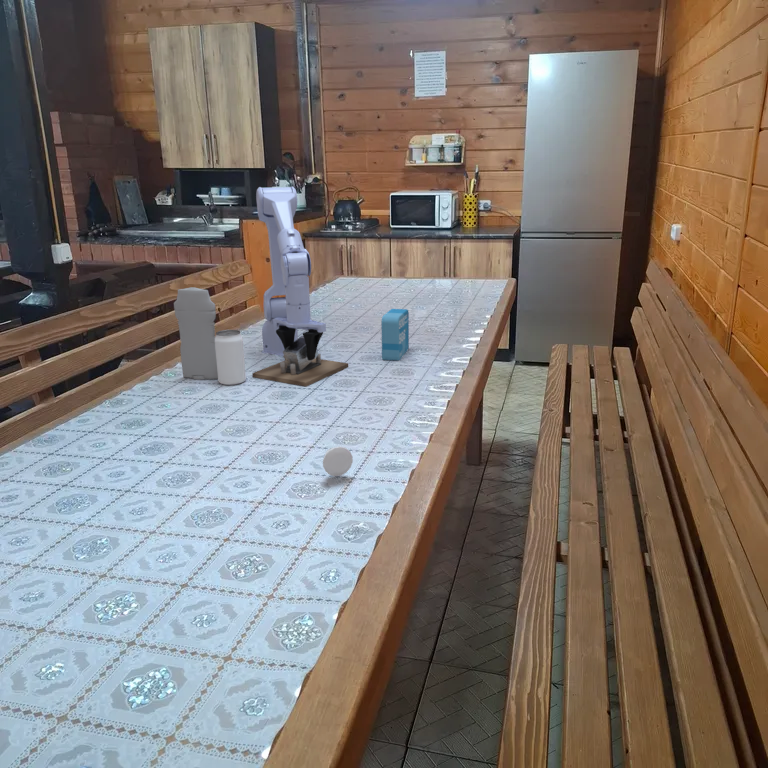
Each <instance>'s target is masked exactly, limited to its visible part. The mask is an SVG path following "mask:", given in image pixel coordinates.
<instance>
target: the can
mask: <svg viewBox="0 0 768 768" xmlns="http://www.w3.org/2000/svg"><path fill="white" fill-rule="evenodd" d="M243 339H244V338H243V336H242V334H241V330H237V329H223V330H219V331H215V351H216V362H217V372H218V379H217V381H218V383H219V384H221V385H224V386H235V385H240V384H243V383H245V381H246V380H247V375H246V373H247V371H246V363H245V362H246V361H245V349H244V340H243Z"/></svg>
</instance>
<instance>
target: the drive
mask: <svg viewBox="0 0 768 768" xmlns="http://www.w3.org/2000/svg"><path fill="white" fill-rule="evenodd" d="M283 354H284V356H283V358H284V361H285V362H286V366H287V369H290V364H295V368H296V371H301V370H302V369H304V368H305V367H306V366H307V365H308V364H309V363H310V362H311V361H312V360H314V359H312V360H308V358H307V349H306V343H305V339H304V337H303V335H300V337H299V336H298V339H297V340H296V341H295V342H293V343H292V344H291V345H290V346H289V347H287V348H286V349H285V350H284V351H283ZM319 354H320V353H319V351H318V349H317V350H316V355H315V358H316V357H317V356H318V355H319ZM290 370H291V369H290Z"/></svg>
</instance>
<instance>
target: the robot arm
mask: <svg viewBox="0 0 768 768" xmlns="http://www.w3.org/2000/svg"><path fill="white" fill-rule="evenodd" d="M255 195H256V196H255V197H256V198H255V199H256V207H257V208H256V210H257V216H258V221H261V222H263V223H265V226H266V229H267V235H268V246H269V257H270V258H269V259H270V268H271V270H270V271H271V279H272V285H271V286H270V287H269V288H268V289H267V290H265V291H264V294H263V313H264V315H263V316H264V318H265V320H266V321H264V323H263V325H262V328H261V335H262V336H261V337H262V351H261V353H262V354H270V355H276V356H281V357H284V354H283V351H284V350H285V349H286V348H287V347H289V346H290V345H291V344H292V343H293V342H295V341H296V340H297V339H298V338H299V336H298V335H299V333H298V332H299V331H298V330H304V331H305V330H306V332H303V333H302V336H303V337H304V339H305V343H306V349H307V358H308V360H312V359H315V355H316V350H318V346H319V343H320V340H321V338H322V336H323V335H324V333H325V332H327V326H326V325H327V323H326V322H320V321H317V320H314V319H313V320H312V319H311V317H312V316H311V297H310V295H311V294H310V278H309V277H311V274H312V261H311V256H310V253H309V251H308V250H307V249H306V248H305V247H304V243H303V241H302V240H303V239H302V235H301V233H300V232H299V230H297V229H296V228H295V226H294V217H295V214H296V210H297V209H298V194H297V190H296V188H295V187H294V186H281V187H279V186H277V187H275V186H274V187H261V186H259V187H258V188H257V189H256V194H255ZM275 296H277V297H275ZM278 296H279V297H278ZM281 296H282V297H281Z"/></svg>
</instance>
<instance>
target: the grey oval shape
mask: <svg viewBox="0 0 768 768" xmlns="http://www.w3.org/2000/svg"><path fill="white" fill-rule="evenodd" d="M353 462H354V459H353V455H352V453H351V451H350V450H349V449H348V448H346V447H344V446H335V447H330V448H328V449H327V451H326V452H325V454H324V457H323V459H322V467H323V469H324V471H325V473H327V474H328V475H330V476H331V477H340V476H343V475H345V474H346V473H347V472H348V471H349V470H350V469H351V468H352V465H353Z"/></svg>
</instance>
